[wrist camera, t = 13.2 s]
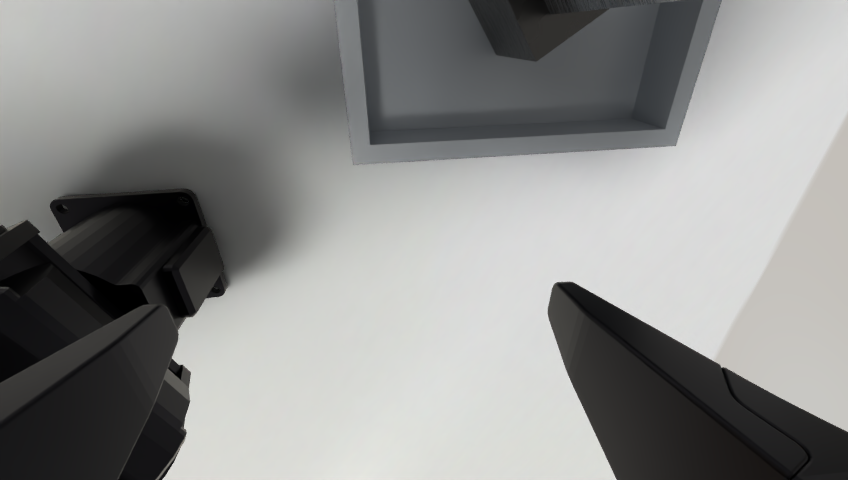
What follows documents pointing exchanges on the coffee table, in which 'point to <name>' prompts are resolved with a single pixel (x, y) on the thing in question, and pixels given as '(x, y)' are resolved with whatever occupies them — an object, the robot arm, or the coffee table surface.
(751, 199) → the coffee table surface
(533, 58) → the strut
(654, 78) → the bin
